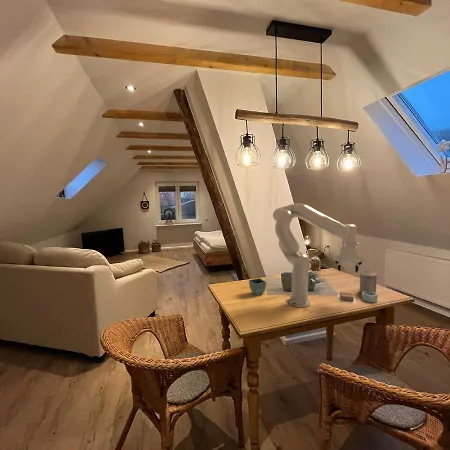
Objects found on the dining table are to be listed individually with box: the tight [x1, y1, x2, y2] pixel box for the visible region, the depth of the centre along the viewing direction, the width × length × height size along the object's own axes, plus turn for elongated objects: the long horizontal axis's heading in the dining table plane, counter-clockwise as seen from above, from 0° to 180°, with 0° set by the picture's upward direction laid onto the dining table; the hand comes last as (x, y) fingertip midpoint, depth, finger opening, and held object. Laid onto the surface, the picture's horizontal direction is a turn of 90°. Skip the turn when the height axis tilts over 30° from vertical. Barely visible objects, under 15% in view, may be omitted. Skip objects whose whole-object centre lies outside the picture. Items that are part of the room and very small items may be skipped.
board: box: [339, 291, 355, 302], centre depth 176 cm, size 7×7×3 cm
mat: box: [337, 294, 357, 304], centre depth 177 cm, size 12×10×1 cm
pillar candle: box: [359, 270, 378, 294], centre depth 185 cm, size 10×10×15 cm
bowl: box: [361, 291, 379, 303], centre depth 174 cm, size 8×8×4 cm
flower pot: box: [248, 277, 267, 296], centre depth 188 cm, size 9×9×9 cm
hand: (347, 271), depth 174 cm, fingers open, 9 cm apart
